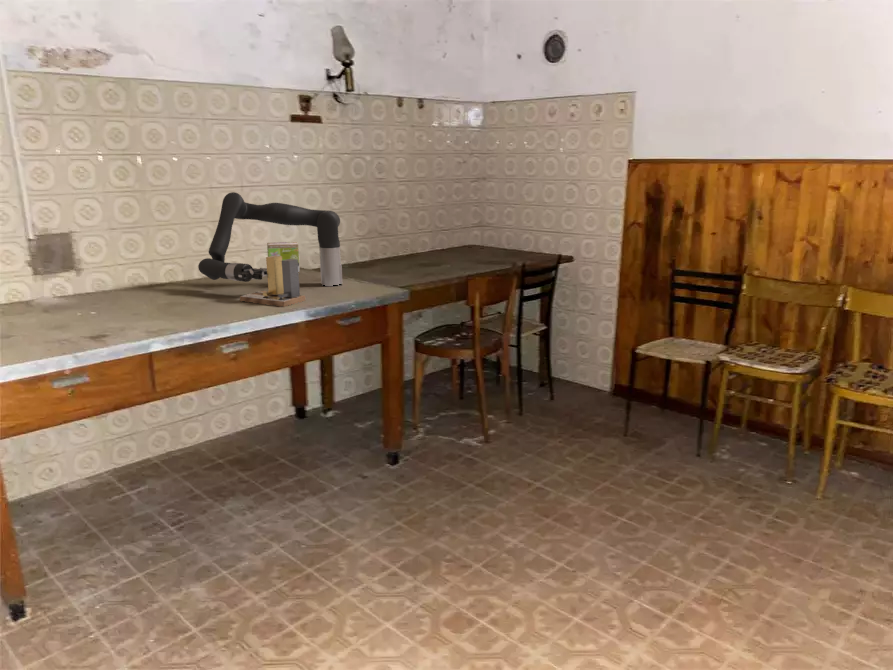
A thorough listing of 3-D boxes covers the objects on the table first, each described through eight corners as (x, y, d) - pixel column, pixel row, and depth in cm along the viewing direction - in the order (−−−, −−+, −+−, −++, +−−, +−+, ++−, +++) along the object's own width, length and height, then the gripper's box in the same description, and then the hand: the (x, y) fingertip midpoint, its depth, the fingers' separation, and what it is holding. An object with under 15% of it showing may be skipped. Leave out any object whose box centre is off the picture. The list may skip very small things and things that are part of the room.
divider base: (240, 301, 275) (236, 259, 271) (262, 295, 286) (259, 255, 282) (284, 306, 265) (281, 263, 260) (305, 300, 276) (303, 259, 272)
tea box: (269, 274, 336) (267, 244, 332) (268, 271, 345) (266, 242, 342) (300, 272, 340) (298, 243, 336) (298, 269, 349) (296, 241, 346)
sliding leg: (261, 296, 272) (258, 258, 268) (277, 292, 280) (274, 255, 276) (268, 297, 270) (265, 259, 266) (284, 293, 278) (282, 256, 274)
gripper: (225, 265, 277) (256, 268, 269) (250, 260, 289) (280, 263, 282) (227, 283, 279) (257, 287, 271) (252, 278, 291) (281, 281, 284)
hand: (268, 275), depth 277 cm, fingers open, 8 cm apart
